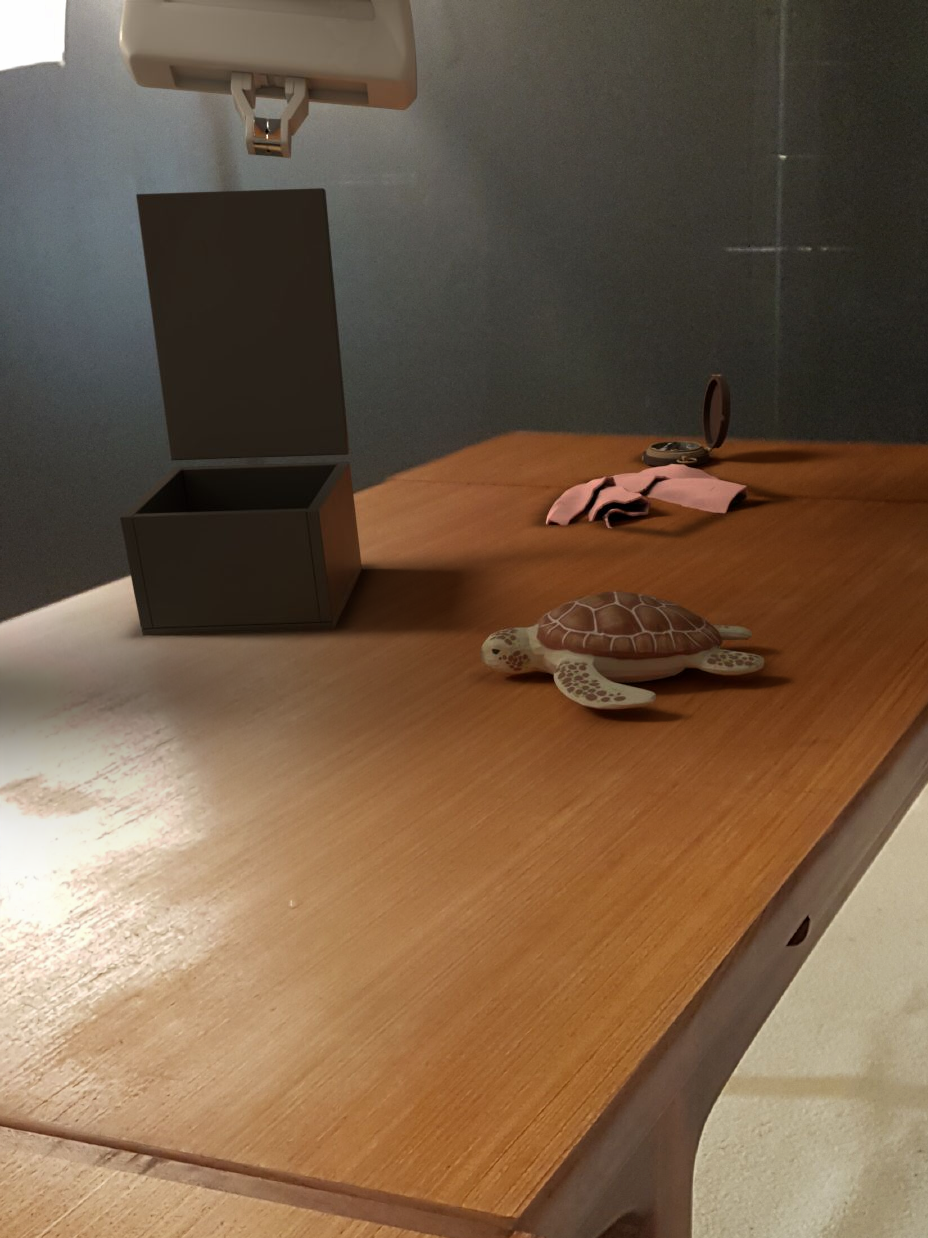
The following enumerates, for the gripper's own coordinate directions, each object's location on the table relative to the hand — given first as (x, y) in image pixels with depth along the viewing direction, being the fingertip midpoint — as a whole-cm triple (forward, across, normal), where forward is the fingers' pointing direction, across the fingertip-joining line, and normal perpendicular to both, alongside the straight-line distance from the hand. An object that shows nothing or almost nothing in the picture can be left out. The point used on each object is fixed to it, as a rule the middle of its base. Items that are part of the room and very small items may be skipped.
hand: (268, 151), depth 113 cm
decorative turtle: (+40, +24, -17) cm, 50 cm away
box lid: (+13, -1, -1) cm, 13 cm away
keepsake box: (+31, 0, +1) cm, 31 cm away
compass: (+5, +34, +35) cm, 49 cm away
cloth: (+15, +29, +20) cm, 39 cm away
